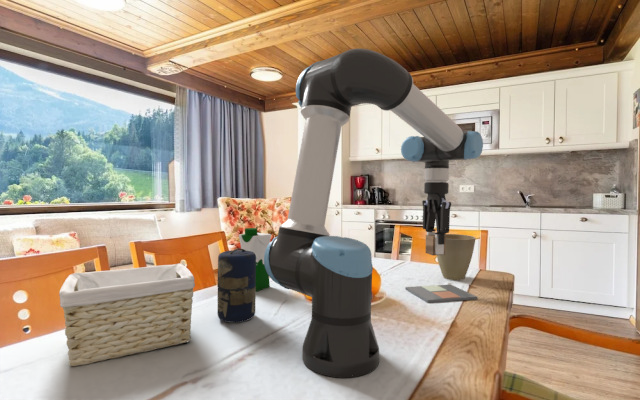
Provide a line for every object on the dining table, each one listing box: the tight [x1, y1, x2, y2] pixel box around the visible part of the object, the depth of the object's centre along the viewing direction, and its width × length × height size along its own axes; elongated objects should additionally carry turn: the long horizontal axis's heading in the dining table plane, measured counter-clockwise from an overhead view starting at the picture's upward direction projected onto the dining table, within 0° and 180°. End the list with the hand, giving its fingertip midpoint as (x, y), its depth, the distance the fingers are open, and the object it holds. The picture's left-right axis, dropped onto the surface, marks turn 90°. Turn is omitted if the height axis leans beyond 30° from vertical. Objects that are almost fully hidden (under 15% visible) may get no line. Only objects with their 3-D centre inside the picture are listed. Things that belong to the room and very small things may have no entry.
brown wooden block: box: [425, 234, 446, 256], centre depth 116 cm, size 4×4×6 cm
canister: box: [217, 247, 257, 323], centre depth 90 cm, size 10×10×18 cm
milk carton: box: [238, 227, 272, 292], centre depth 118 cm, size 9×9×20 cm
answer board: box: [405, 284, 478, 304], centre depth 113 cm, size 17×14×1 cm
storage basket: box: [58, 263, 196, 367], centre depth 76 cm, size 24×16×15 cm
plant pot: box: [436, 233, 476, 281], centre depth 134 cm, size 15×15×16 cm
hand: (434, 252), depth 116 cm, fingers closed on brown wooden block, 4 cm apart
